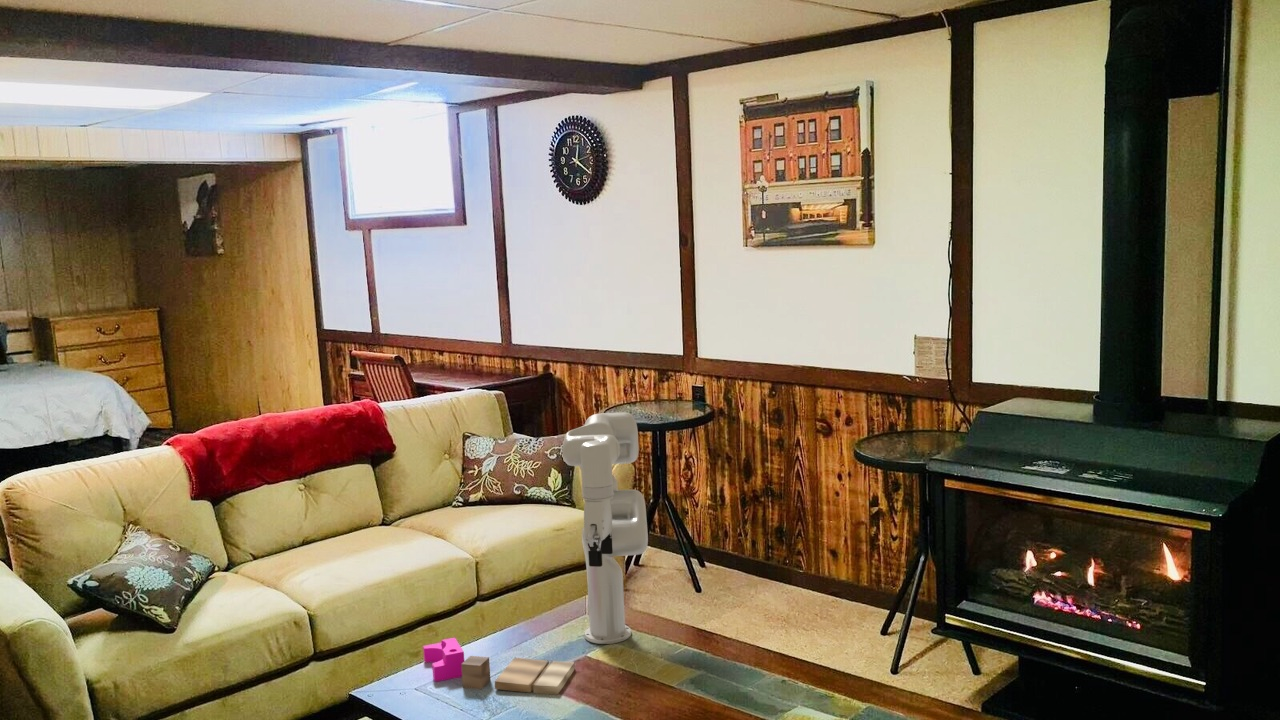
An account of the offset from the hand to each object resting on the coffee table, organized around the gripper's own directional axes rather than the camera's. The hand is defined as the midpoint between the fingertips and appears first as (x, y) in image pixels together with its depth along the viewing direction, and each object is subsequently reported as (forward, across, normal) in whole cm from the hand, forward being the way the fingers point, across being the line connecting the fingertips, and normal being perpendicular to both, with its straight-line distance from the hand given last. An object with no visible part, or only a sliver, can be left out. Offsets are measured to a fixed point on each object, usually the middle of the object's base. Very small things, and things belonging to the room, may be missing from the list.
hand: (601, 559), depth 252 cm
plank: (+26, +8, -14) cm, 31 cm away
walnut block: (+28, +12, -30) cm, 43 cm away
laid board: (+28, +8, -11) cm, 31 cm away
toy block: (+25, +2, -38) cm, 46 cm away
